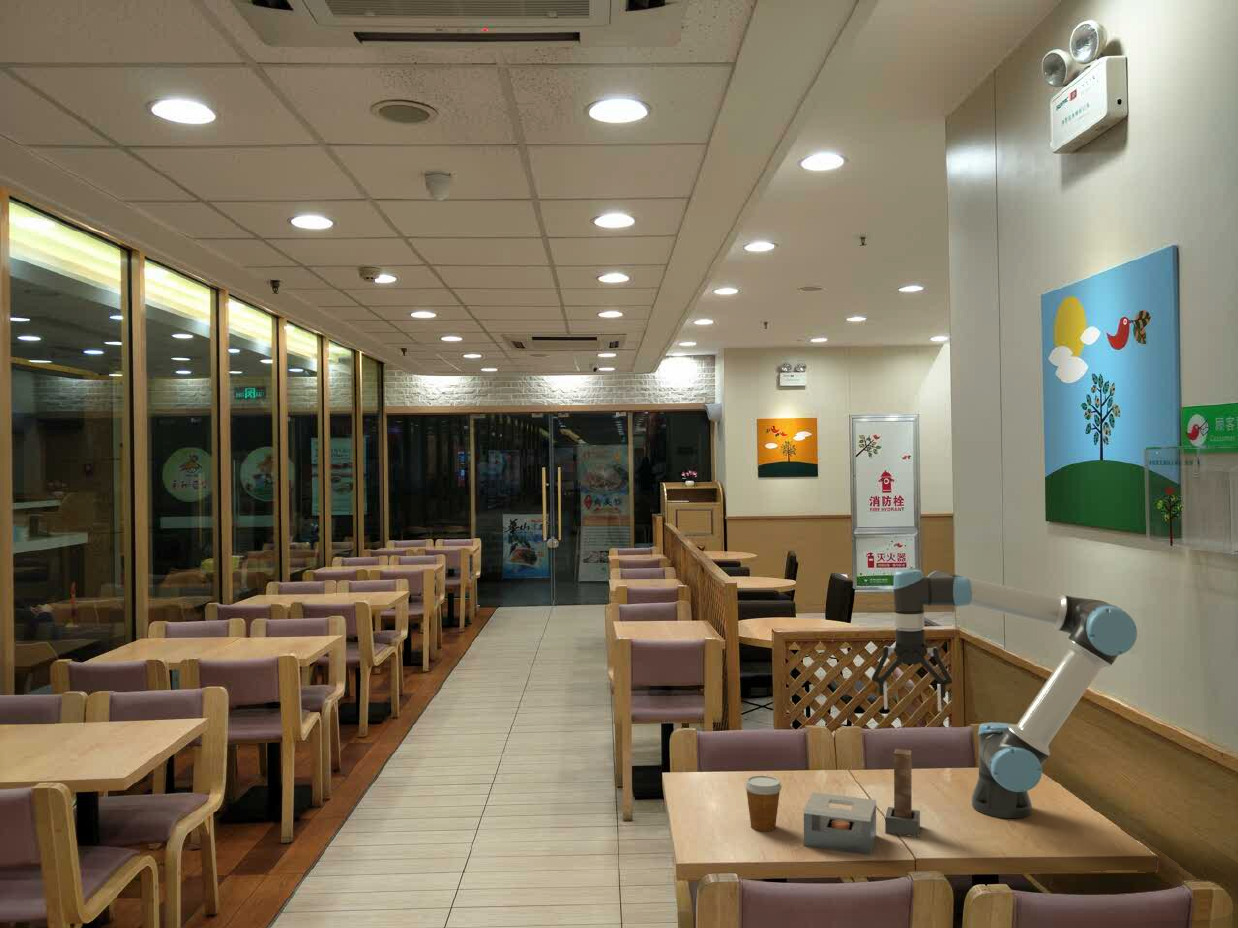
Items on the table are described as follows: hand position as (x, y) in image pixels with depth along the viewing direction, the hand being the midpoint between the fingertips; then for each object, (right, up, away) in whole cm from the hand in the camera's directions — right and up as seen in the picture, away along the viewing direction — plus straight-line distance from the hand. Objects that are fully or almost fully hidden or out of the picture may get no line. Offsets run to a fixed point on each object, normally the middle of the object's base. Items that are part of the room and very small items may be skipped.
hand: (912, 709), depth 251 cm
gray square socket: (-5, -29, -6) cm, 30 cm away
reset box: (-22, -29, -14) cm, 39 cm away
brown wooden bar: (-5, -29, -6) cm, 30 cm away
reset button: (-22, -29, -14) cm, 39 cm away
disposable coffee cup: (-40, -30, -5) cm, 50 cm away
